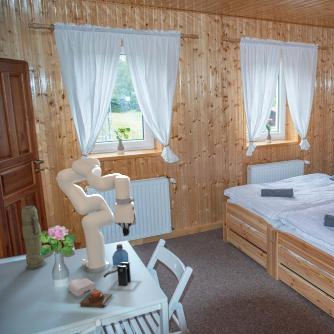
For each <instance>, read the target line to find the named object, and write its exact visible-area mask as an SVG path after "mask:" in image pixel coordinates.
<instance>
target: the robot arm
mask: <svg viewBox="0 0 334 334" xmlns="http://www.w3.org/2000/svg"><path fill="white" fill-rule="evenodd" d="M84 181H87V183H88V185H89V187H90V188H92V189H93V190H95V191H97V192H101V193H105V192H108V191H111V190H114V197H115V203H114V209H113V211H112V209H111V208H110V207H109V204H108V203H107V202H106V200H105V198H104V197H103V196H102V195H101V194H98V193H94V194H91V195H87V194H86V192H85V191H84V189H83V187H81V186H79V185H77V184H75V183H79V182H84ZM56 182H57V184H58V187H59V189H60V190H61V191H62V192H63V193H64V194H65V196H66V197H67V198H68V199H69V201H70V203H71V204H72V206H73V208H74V209H75V211H76V213H78V214H79V215H80V216H83V218H82V219H81V226H82V229H83V234H84V239H85V248H86V249H85V250H86V258H87V259H85V258H82V259H81V265H85V267H86V268H88V269H90V270H98V269H102V268H104V267H105V266H107V265H110V262H109V261H107V257H106V245H105V237H104V234H103V233H102V232H101V229H103V228H106V227H109V226H111V225H113V224H115V225H118V226H119V227H120V228H121V229H122V235H123V237H127V236H129V235H130V227H131V226H136V224H137V222H136V221H137V212H136V206H135V204H134V201H135V199H134V198H133V197H132V188H131V177H129V176H127V175H122V174H120V173H112V174H107V175H102V168H101V162H100V160H99V159H98V158H96V157H94V156H89V157H83V158H79V159H76V160H74V161H73V162H72V164H71V167H69V168H64V169H62V170H60V171H59V172H58V173H57V175H56ZM84 215H85V216H84Z"/></svg>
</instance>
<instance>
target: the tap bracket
mask: <svg viewBox="0 0 334 334" xmlns="http://www.w3.org/2000/svg"><path fill="white" fill-rule="evenodd" d="M124 264H126V265H127V267H128V268H127V269H126V266H119V265H116V269H117V272H116V273H117V281H118V283H117V284H118V287H128V283H131V282H132V278H131V277H132V276H131V263H130V261H129V262H121V265H124Z"/></svg>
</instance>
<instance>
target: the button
mask: <svg viewBox="0 0 334 334" xmlns="http://www.w3.org/2000/svg"><path fill="white" fill-rule="evenodd" d="M100 291H101V290H99V289H94V290H91V293H92V297H97V296H99V295H100Z"/></svg>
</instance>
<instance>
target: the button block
mask: <svg viewBox="0 0 334 334" xmlns="http://www.w3.org/2000/svg"><path fill="white" fill-rule="evenodd" d="M99 291H100V295H99V296H97V297H92V291H89V293H87V295H86V296H85V297H83V299H82V300H81V301H80V302H79V306H80V307H81V308H93V309H104V308H105V306H106V303H107V302H108V300H110V298H111V297H113V296H112V295H113V294H112V293H109V292H108V293H107V292H104V291H102V290H99Z"/></svg>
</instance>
